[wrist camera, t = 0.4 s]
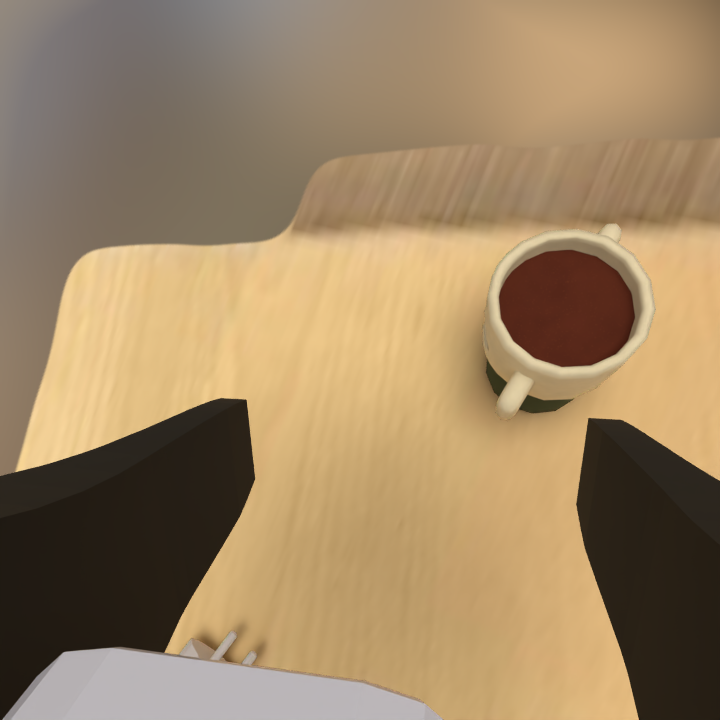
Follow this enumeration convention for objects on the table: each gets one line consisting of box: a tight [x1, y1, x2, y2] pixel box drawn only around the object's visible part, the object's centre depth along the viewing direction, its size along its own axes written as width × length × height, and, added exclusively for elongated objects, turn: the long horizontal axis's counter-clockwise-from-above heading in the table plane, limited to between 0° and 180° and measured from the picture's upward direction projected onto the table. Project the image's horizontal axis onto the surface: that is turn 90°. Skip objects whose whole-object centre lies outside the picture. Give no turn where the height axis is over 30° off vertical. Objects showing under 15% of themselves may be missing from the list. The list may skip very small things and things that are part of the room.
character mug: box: [483, 224, 656, 420], centre depth 30 cm, size 11×7×13 cm, turn 147°
